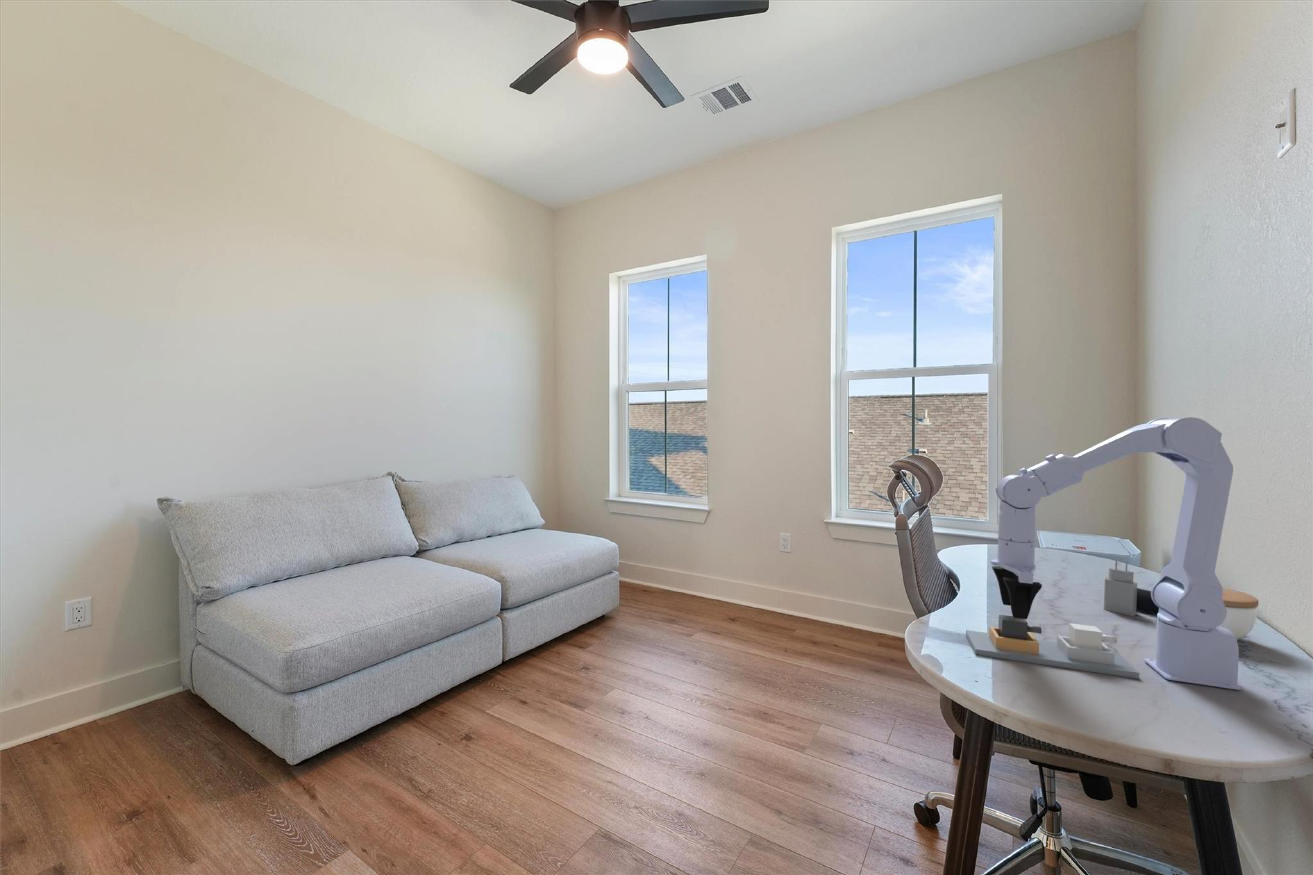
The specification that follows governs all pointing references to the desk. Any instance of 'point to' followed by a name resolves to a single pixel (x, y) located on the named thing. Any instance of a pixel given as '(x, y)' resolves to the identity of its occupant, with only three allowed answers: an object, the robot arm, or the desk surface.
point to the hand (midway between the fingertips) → (1014, 611)
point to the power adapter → (1120, 591)
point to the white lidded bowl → (1239, 612)
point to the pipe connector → (1146, 602)
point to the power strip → (1057, 650)
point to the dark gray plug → (1015, 627)
